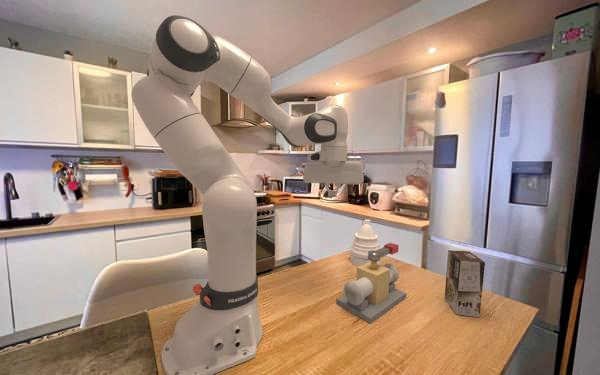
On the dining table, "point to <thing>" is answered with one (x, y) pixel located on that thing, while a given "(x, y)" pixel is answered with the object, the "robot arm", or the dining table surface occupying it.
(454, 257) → the coffee box
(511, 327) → the dining table surface
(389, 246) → the lever
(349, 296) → the valve
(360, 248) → the honey pot
